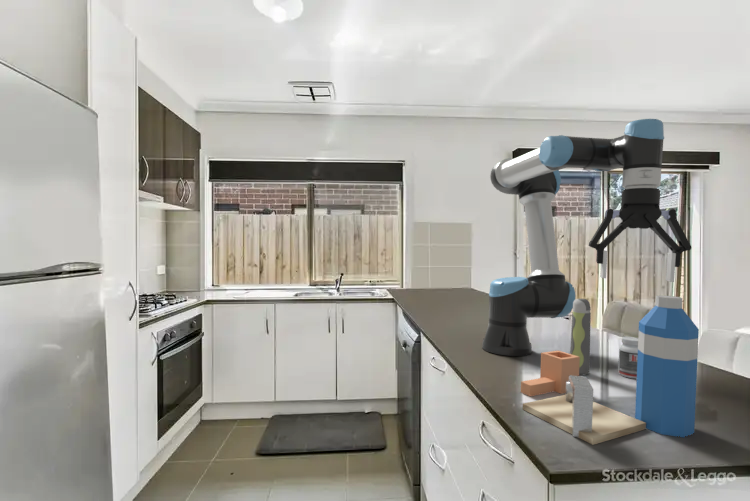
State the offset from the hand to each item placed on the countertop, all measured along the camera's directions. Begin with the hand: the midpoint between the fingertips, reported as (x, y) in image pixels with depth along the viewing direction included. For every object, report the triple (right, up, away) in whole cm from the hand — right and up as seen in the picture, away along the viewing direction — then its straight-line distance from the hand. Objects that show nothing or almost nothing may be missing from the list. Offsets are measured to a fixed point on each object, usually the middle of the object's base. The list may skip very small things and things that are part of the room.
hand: (635, 279), depth 95 cm
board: (-20, -27, -15) cm, 36 cm away
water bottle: (-5, -27, -17) cm, 32 cm away
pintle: (-19, -25, -9) cm, 33 cm away
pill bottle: (+7, -27, +13) cm, 31 cm away
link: (-20, -26, +1) cm, 33 cm away
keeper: (-23, -27, -18) cm, 40 cm away
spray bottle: (-6, -26, +15) cm, 31 cm away
